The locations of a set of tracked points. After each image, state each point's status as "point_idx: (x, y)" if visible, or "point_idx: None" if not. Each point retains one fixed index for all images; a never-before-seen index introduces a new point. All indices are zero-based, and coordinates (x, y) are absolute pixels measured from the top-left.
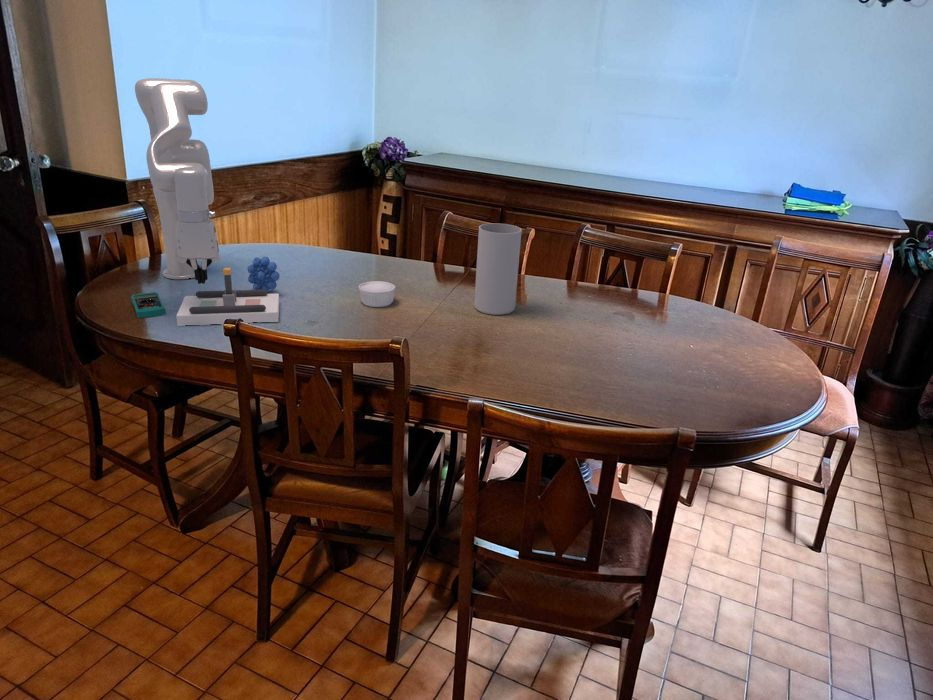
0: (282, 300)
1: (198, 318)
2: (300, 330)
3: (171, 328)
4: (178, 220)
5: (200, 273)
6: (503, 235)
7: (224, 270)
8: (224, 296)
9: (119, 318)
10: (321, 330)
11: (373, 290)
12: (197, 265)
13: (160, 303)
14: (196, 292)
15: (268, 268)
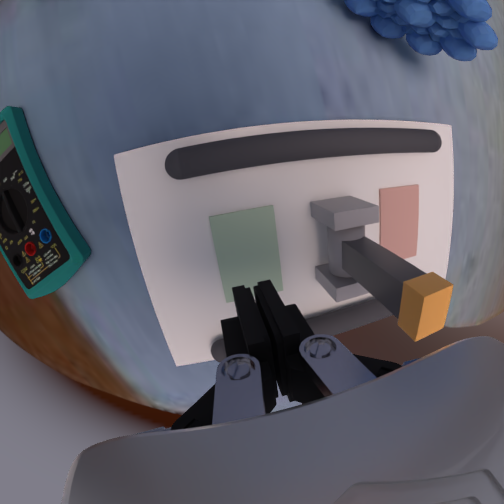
0: (431, 102)
1: None
2: (448, 310)
3: (167, 356)
4: None
5: (278, 382)
6: None
7: (420, 338)
8: (341, 299)
9: (7, 295)
10: (470, 301)
11: None
12: (266, 401)
13: (51, 222)
14: (169, 168)
15: (473, 43)
